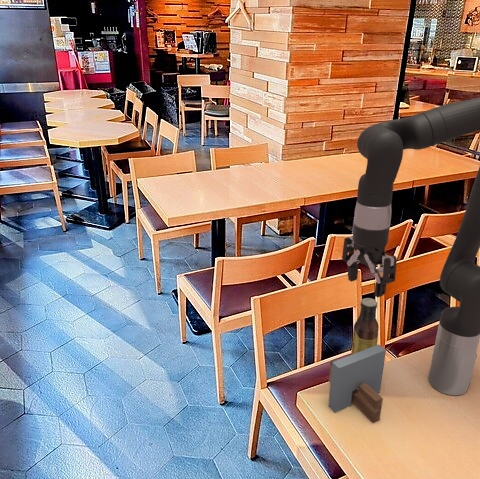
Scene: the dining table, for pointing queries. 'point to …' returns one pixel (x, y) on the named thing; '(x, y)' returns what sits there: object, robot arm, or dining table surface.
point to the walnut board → (365, 400)
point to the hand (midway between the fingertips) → (365, 287)
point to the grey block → (355, 375)
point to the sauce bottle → (365, 327)
